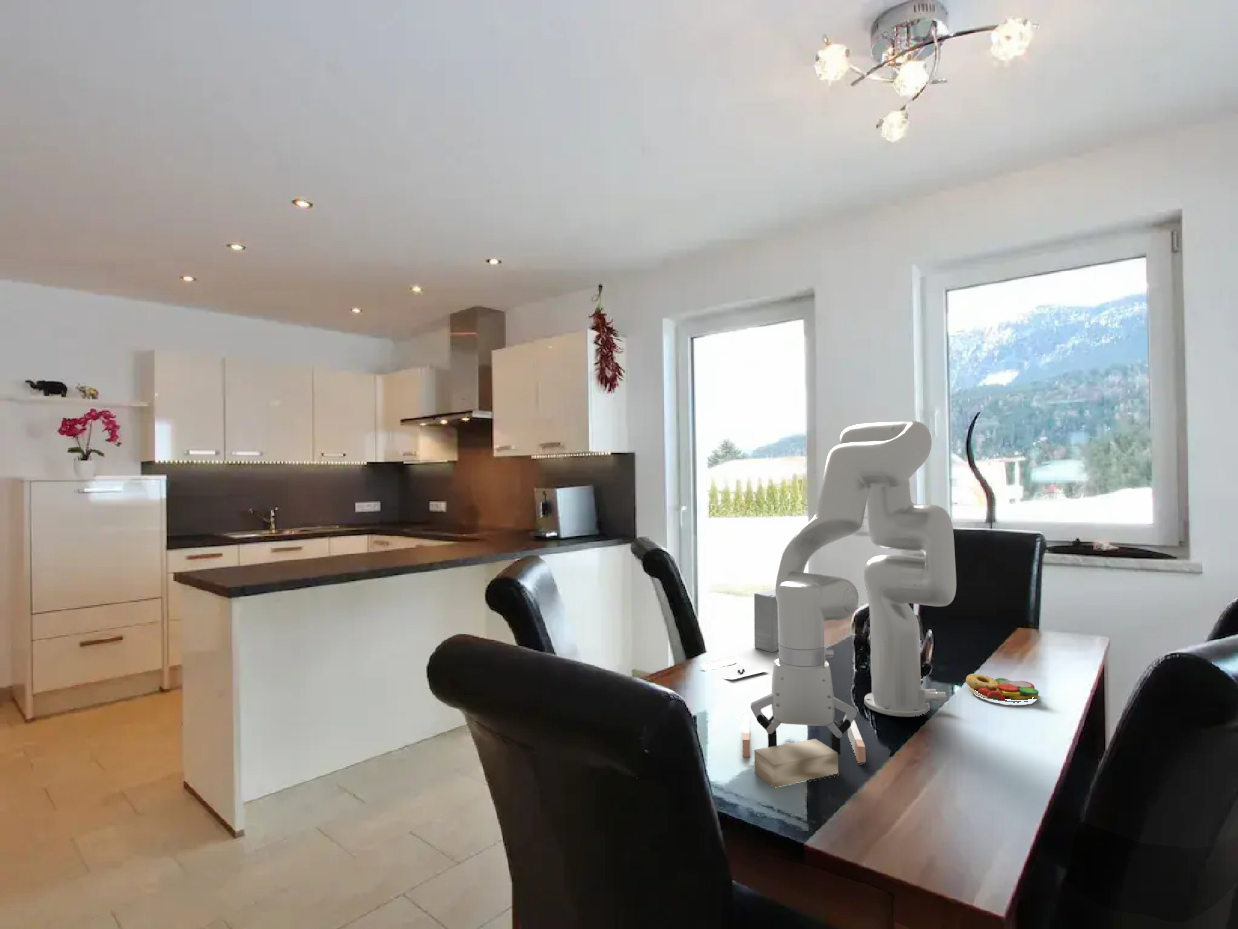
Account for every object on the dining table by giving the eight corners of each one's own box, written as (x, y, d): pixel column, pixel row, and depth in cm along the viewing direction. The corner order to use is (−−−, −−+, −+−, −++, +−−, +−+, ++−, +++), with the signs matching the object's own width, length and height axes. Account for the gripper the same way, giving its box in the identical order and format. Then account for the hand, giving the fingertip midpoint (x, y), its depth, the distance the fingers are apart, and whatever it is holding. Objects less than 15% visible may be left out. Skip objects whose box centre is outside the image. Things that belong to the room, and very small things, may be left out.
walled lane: (854, 736, 123) (854, 720, 123) (865, 764, 111) (865, 746, 111) (743, 730, 127) (743, 714, 127) (742, 756, 115) (742, 739, 115)
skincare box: (770, 642, 190) (768, 587, 190) (791, 647, 184) (790, 590, 185) (752, 648, 184) (751, 591, 184) (774, 653, 179) (773, 595, 179)
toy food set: (961, 686, 150) (961, 671, 150) (1025, 688, 148) (1025, 674, 148) (981, 706, 137) (980, 691, 137) (1051, 710, 134) (1051, 694, 134)
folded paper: (732, 684, 155) (732, 675, 155) (699, 671, 165) (699, 663, 166) (769, 675, 162) (769, 667, 162) (735, 663, 172) (735, 655, 172)
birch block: (816, 762, 113) (815, 738, 113) (838, 777, 107) (837, 752, 107) (754, 774, 109) (754, 749, 109) (774, 790, 103) (773, 764, 104)
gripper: (851, 650, 113) (854, 750, 113) (749, 647, 117) (751, 744, 117) (858, 663, 106) (861, 770, 106) (749, 659, 109) (751, 762, 109)
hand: (803, 756), depth 111 cm, fingers open, 9 cm apart
